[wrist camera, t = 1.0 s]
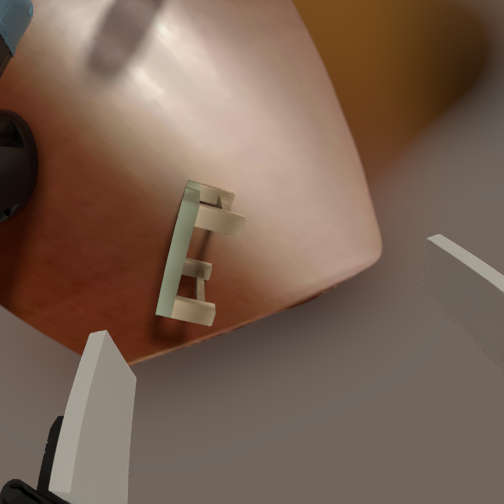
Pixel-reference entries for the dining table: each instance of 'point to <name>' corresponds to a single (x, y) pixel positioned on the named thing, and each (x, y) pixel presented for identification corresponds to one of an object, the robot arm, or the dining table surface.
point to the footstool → (177, 261)
